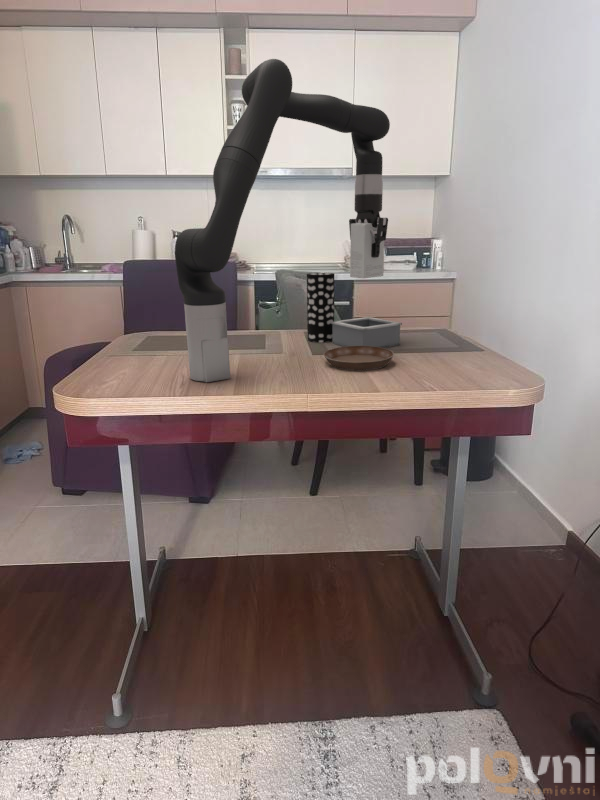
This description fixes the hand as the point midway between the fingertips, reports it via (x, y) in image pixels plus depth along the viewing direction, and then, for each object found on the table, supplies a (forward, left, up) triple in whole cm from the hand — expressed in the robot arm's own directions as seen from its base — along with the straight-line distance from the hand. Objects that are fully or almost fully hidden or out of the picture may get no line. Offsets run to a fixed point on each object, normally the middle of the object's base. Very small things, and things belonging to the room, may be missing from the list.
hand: (367, 256), depth 151 cm
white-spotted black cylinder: (+14, +6, -25) cm, 29 cm away
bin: (0, 0, -25) cm, 25 cm away
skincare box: (0, 0, -6) cm, 6 cm away
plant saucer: (-17, +17, -26) cm, 35 cm away
